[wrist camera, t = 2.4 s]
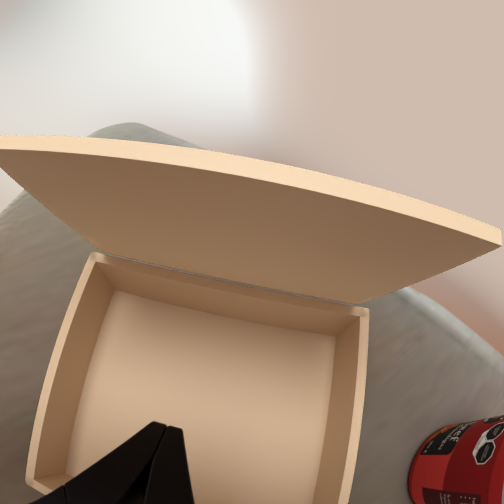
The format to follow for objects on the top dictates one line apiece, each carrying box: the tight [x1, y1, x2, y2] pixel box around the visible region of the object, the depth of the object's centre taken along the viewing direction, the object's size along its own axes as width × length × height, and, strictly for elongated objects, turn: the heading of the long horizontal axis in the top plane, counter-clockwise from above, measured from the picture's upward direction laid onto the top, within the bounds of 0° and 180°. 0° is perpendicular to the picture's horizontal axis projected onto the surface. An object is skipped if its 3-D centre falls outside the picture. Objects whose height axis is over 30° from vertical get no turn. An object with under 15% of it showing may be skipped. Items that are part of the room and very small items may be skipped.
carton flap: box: [0, 135, 502, 305], centre depth 12 cm, size 12×16×1 cm
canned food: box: [409, 415, 504, 504], centre depth 12 cm, size 8×8×11 cm
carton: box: [25, 252, 369, 504], centre depth 16 cm, size 16×18×5 cm
